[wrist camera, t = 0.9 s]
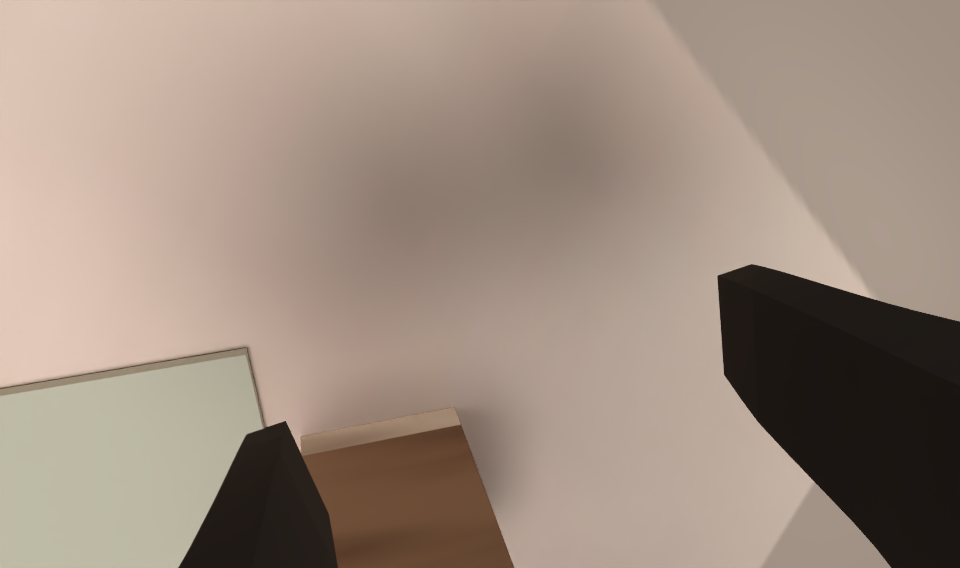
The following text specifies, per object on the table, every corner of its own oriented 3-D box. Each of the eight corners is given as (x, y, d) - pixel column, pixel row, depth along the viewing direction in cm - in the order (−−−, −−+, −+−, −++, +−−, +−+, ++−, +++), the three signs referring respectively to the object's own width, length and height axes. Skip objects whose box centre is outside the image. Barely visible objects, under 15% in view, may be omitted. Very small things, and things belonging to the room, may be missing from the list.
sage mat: (311, 631, 27) (312, 640, 26) (12, 703, 25) (8, 714, 24) (246, 347, 21) (245, 354, 21) (-138, 412, 20) (-146, 420, 19)
